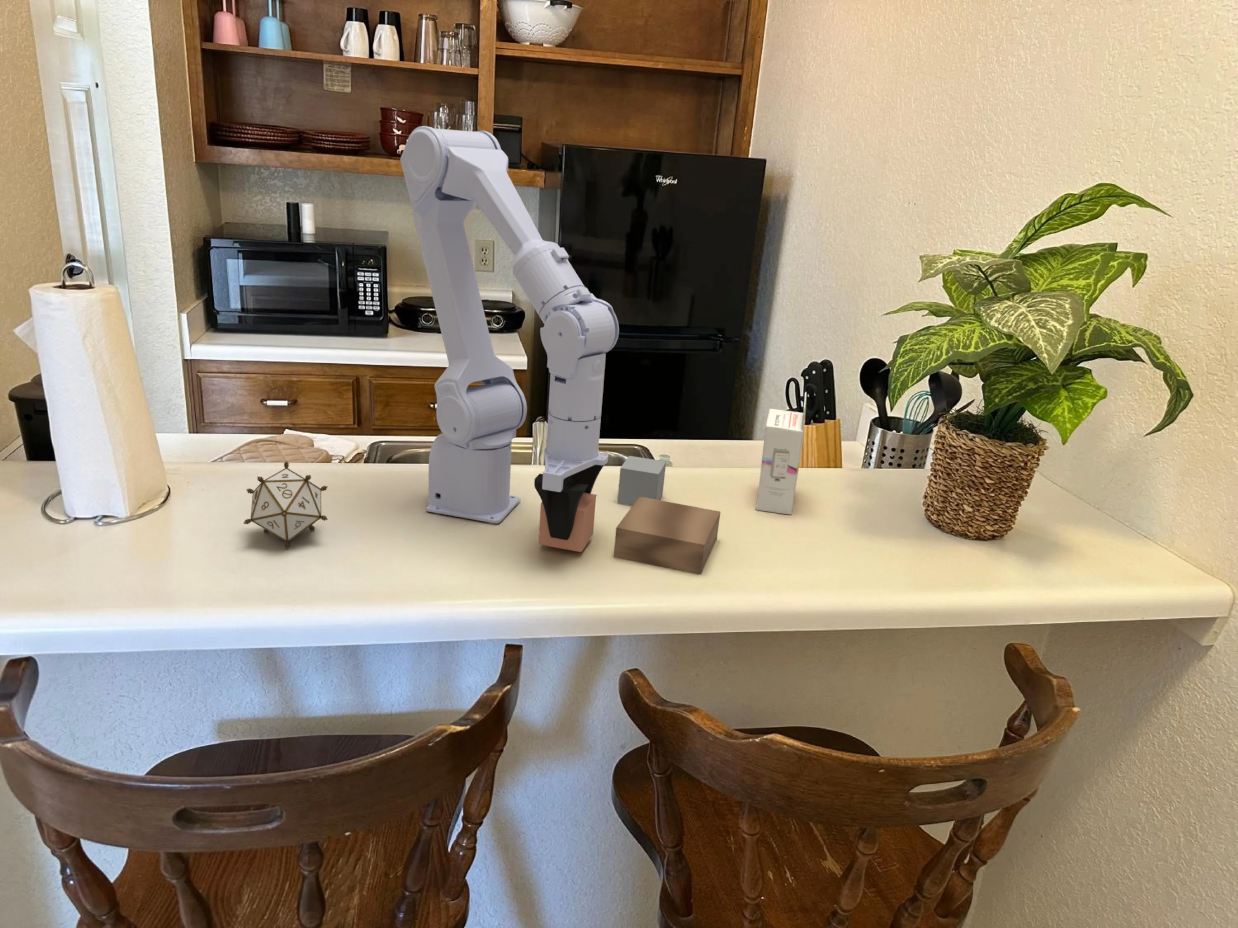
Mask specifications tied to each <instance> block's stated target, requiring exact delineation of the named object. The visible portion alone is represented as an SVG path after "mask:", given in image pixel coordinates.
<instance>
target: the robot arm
mask: <svg viewBox="0 0 1238 928" xmlns="http://www.w3.org/2000/svg"><path fill="white" fill-rule="evenodd" d="M404 146H405V147H404V148H403V151H402V152H401V153H402V154H401V156H400V158H399V160H400V164H401V168H402V172H403V176H404V181H405V185H406V189H407V192H408V197H409V202H410V206H411V209H412V217H413V222H414V227H415V230H416V235H417V238H418V243H419V247H420V250H421V255H422V259H423V263H424V266H425V271H426V275H427V280H428V284H429V288H430V292H431V296H432V300H433V303H434V304H433V305H434V308H435V313H436V316H437V320H438V325H439V329H440V332H441V333H440V334H441V337H442V341H443V346H444V350H445V354H446V358H447V362H448V366H447V367H446V369H445V370H444V372H443V373H442V374H441V375H440V377H439V378H438V379H437V380H436V382H435V383H434V391H435V395H436V412H435V414H436V422H437V425H438V427H439V430H440V431H441V433H440V434H438V435H437V436H436V437H435V439H434V440H433V442H432V444H431V448H430V451H429V456H428V505H427V506H425V510H426V512H430V513H433V514H434V513H435V514H440V515H447V516H453V517H458V518H464V519H467V520H468V519H469V520H473V521H474V520H475V521H481V522H485V523H493V524H499V523H501V522H502V520H504V519H505V518H506V517H507V516H508V514H509V513H510V512H512V510H513V509H514V508H515V507H516V506H517V505H518V504H519V503H520V502H521V497H520V496H517V495H510V492H511V491H510V490H511V470H512V467H511V466H512V440H513V439H515V438H516V437H517V429H519V428H521V427H522V426H523V424H524V423H525V421H526V419H527V414H528V413H527V412H528V406H527V401H526V397H525V394H524V392H523V391H522V389H521V387H520V386H519V384H518V383H517V380H516V377H515V374H514V369H513V368H512V367H511V366H510V365H509V364H507V363H506V362H504V360H501V359H500V358H499V357H498V356H496V355H495V352H494V347H493V345H492V344H493V343H492V340H491V335H490V331H489V328H488V323H487V318H486V314H485V310H484V305H483V302H482V298H481V297H482V296H481V293H480V288H479V285H478V280H477V276H476V272H475V268H474V263H473V260H472V255H471V250H470V247H469V242H468V238H467V233H466V230H465V225H464V223H465V220H466V219H467V216H468V215H469V213H470V212H472V211H473V210H475V208H476V207H477V206H478V208H479V209H480V210H481V212H482V213H483V215H484V216H485V217H486V218H487V220H488V222H490V224H491V225H492V227H493V228H494V229H495V231H496V232H497V234H498V235H499V237H500V238H501V239H502V241H504V243H505V244H506V246H507V247H508V249H509V251H511V253H512V255H513V256H514V262H513V266H512V273H513V274H512V275H513V276H514V277H515V279H516V280H517V282H518V284H519V285H520V287H521V289H522V291H523V293H524V294H525V295H526V297H527V298H528V300H529V302H530V304H531V305H532V307H533V308H534V310H535V311H536V313H537V315H538V317H539V318H540V319H541V321H542V323H543V324H544V325H543V327H540V328H539V329H540V330H539V333H540V339H541V340H540V341H541V342H542V346H543V348H544V350H545V353H546V355H547V356H546V357H547V363H546V368H548V372H549V374H550V375H549V376H550V377H549V378H550V379H549V393H548V394H549V395H548V412H547V432H546V433H547V435H546V447H545V448H544V451H543V452H544V453H543V459H544V468H545V469H544V470H543V471H542V473H538V475H537V476H535V478H534V480H533V481H534V482H533V483H534V489H535V490H536V492H537V494H538V496H539V498H540V501H541V503H543V506H544V509H545V513H546V518H547V524H548V529H549V533H550V537H552V538H557V539H563V540H568V539H569V537H570V535H571V532H572V529H573V525H574V520H575V515H576V511H577V508H578V504H579V502H580V499H581V497H582V495H583V493H589V494H592V491H593V488H594V486H595V483H596V481H597V479H598V476H599V475H600V472H601V471H602V469H603V468H604V466H605V465H606V464H607V463H608V462H609V455H608V454H607V453H602V452H600V450H599V445H600V435H601V434H600V433H601V432H600V430H601V423H602V421H601V417H602V406H603V398H604V397H603V394H604V381H605V369H606V359H607V358H606V355H607V354H606V353H608V352H609V351H611V350H612V349H613V348H615V345H616V344H617V341H618V339H619V335H620V327H619V326H620V325H619V320H618V318H617V315H616V312H615V311H614V309H613V306H612V305H611V304H610V303H608V302H607V301H605V300H603V299H601V298H597V297H596V296H595V295H594V294H593V293H591V292H590V291H589V288H587V287H586V286H585V284H583V282H582V280H581V278H580V277H579V275H578V274H577V273H576V270H575V269H574V268H573V265H572V264H571V263H570V262H569V257H570V255H569V254H568V252H567V251H566V249H565V247H560V245H559V244H558V243H556V242H554V241H547V240H544V239H543V238H542V236H541V233H539V230H538V229H537V227H536V225H535V223H534V220H533V219H532V216H531V215H530V214H529V212H528V210H527V208H526V206H525V204H524V202H523V200H522V198H521V197H520V194H519V193H518V191H517V189H516V187H515V185H514V184H513V181H512V179H511V178H510V176H509V173H508V171H509V156H507V154H506V153H505V151H504V150H502V148H501V145H500V142H499V141H498V139H497V138H496V137H495V136H494V135H493V134H492V133H491V132H489V131H485V130H477V131H471V130H457V129H446V128H433V127H431V126H427V125H422V126H417V127H416V128H414V129H413V130H412V131H411V133H410V134H409V136H408V138H407V141H406V143H405V145H404ZM474 383H482V384H481V385H477V386H476V385H475V386H473V387H469V386H470V384H474Z"/></svg>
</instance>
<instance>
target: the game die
mask: <svg viewBox="0 0 1238 928" xmlns="http://www.w3.org/2000/svg"><path fill="white" fill-rule="evenodd" d="M289 464H290V463H289V461H287V460H285V462H284V463H283V467H284V468H283V469H280V470H279V471H277V472H276V473H274V474H273V475H271V476H269V477H267V478H265V479H264V477H263V476H257V479H256V480H257V481H259V485H257V486H256V488H255V489H253V488H247V489H246V491H247V494H250V495H251V494H252V496H251V497H252V498H251V499H252V500H251V511H250V518H247V519H244V521H243V523H242V524H244V525H249V524H251V523H253V524H255V525H257V526H258V527H261V528H262V529H263V533H264V534H267V533H268V534H269V533H271V534H273V535H274V536H275V537H277V538H279V539H280V540H283V541H284V542H285V543H284V547H285V548H286V550H289V548H290V547H291V543H290V541H291V540H293V539H295V538H296V537H297V536H299V535H300V534H302V533H303V532H304V531H306V530H307V529H308V530H309V531H310V532H311V531H315V526H314V524H315V523H316V522H318V521H319V520H322V521H328V520H329V518H328V517H327V515H325V514H324V515H322V492H325V491H327V489H328V486H327V485H323V486H321V487H319V486H317V485H316V484H314V483H313V482H311V481H310V480H311V479H312V476H311V475H312V474H306V476H305V477H303V476H302V475H300V474H298V473H297V472H295V471H294V470H292V469H290V468H289V466H290V465H289Z"/></svg>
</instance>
